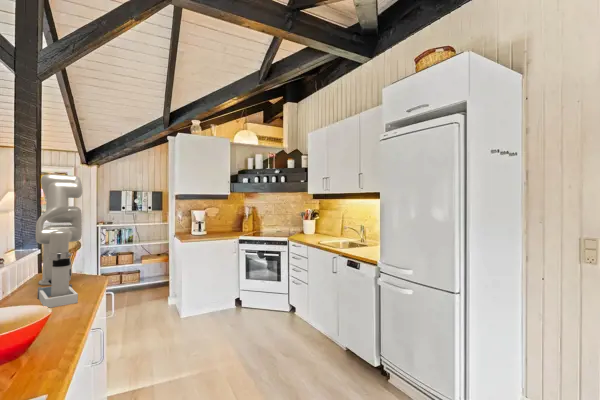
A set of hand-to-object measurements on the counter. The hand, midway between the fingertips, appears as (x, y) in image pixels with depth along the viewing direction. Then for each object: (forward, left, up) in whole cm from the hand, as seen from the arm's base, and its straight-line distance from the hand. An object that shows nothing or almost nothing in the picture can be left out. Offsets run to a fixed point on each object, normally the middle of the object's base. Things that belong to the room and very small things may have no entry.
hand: (57, 293), depth 147 cm
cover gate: (+3, -2, -1) cm, 3 cm away
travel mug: (+14, -1, -1) cm, 14 cm away
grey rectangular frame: (+11, -1, -1) cm, 12 cm away
